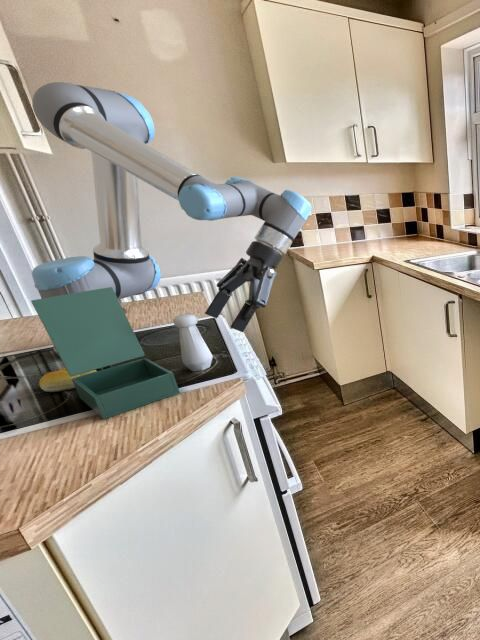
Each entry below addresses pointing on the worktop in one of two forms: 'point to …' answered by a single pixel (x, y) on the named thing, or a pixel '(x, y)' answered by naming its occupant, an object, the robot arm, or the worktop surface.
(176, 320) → the salt shaker
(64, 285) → the robot arm
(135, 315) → the worktop surface
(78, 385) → the box
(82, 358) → the box lid
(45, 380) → the yellow rounded piece
